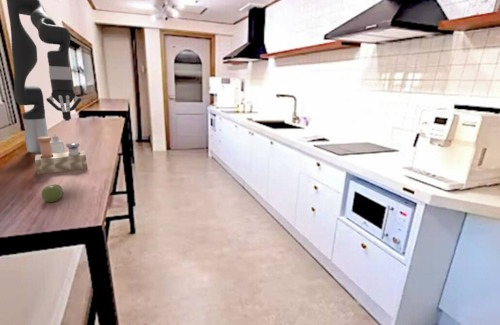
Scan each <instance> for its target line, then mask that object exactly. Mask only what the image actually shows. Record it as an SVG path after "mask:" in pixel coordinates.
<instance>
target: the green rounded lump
mask: <svg viewBox="0 0 500 325" xmlns="http://www.w3.org/2000/svg"><path fill="white" fill-rule="evenodd" d="M63 194H64V190H63V187H62V186H61V185H60V184H55V183H54V184H49V185H47V186H45V187H44V188H43V189H42V190H41V197H42V200H44V201H45V202H47V203H54V202H56V201H59V199H61V197H62V195H63Z"/></svg>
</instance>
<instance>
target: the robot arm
mask: <svg viewBox="0 0 500 325" xmlns="http://www.w3.org/2000/svg"><path fill="white" fill-rule="evenodd" d="M6 6H7V11H8V19H9V25H10V34H11V35H10V37H11V39H10V40H11V53H12V54H11V55H12V61H13V62H12V63H13V72H14V73H13V74H14V75H13V79H14V80H13V85H14V86H13V89H14V91H13V94H14V99H15V102H16V103H17V104H18V105H19V106H33V107H32V108H31V109H30V110H28V111H25V112H23V113H22V119H23V123H24V124H23V125H24V128H25V133H24V134H23V136H24V140H25V146H26V147H25V148H26V151H27V152H26V153H33V154H37V153H40V154H41V149H40V143H39V141H37V138H39V137H50V136H49V132H48V124H47V119H46V111H45V110H46V109H45V104H44V102H45V101H44V94H43V91H42V88H40V86H39V85H37V86H36V85H26V81H27V79H28V78H27V77H28V76H29V75H30V73H31V72H32V70H34V68H35V67H36V64H37V63H38V48H37V44H36V43H35V42H34V40H33V39H32V37H31V36H30V35H29V33H27V31H26V29H25V27H24V26H23V24H22V22H21V18H20V15H24V16H30V21H31V23H32V25H33V26H34V27H35V28H36V29H37V32H38V34H37V35H38V37H39V39H40V41H41V42H42V43H45V44H49V45H59V46H58V48H57V49H56V50H48V51H47V54H46V55H47V56H46V57H47V63H48V74H49V80H50V87H51V94H50V96H49V97H47V98H46V102H47V103H49V104H50V105H51V107H53V108H54V109H55V110H56V111H60V112H61V115H62V119H63V120H64V121H68V122H69V121H70V120H71V119H72V115H71V114H72V113H71V112H72V111H75V109H76V108H77V107H78V106H79V104H80V103H81V101H82V98H81V97H78V96H77V95H76V93H75V92H74V86H73V85H74V84H73V77H72V73H71V72H72V71H71V69H70V62H69V51H70V50H69V49H70V44H71V43H70V42H71V38H72V37H71V33H70V31H69V30H68V28H67V27H66V26H61V25H57V24H56V22H55V21H54V19H52V18H51V16H50V15H48V14H47V12H46V10H45V9H44V8H45V7H44V6H43V5H42V3H41V1H40V0H6ZM54 101H56V102H57V103H58V104H59V105H60V106H58V105H57V104H56V103H55V102H54ZM73 101H74V103H73ZM72 103H73V104H72ZM71 104H72V106H71Z"/></svg>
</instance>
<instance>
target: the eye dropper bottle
mask: <svg viewBox="0 0 500 325" xmlns="http://www.w3.org/2000/svg"><path fill="white" fill-rule="evenodd" d="M51 139H52V140H51V141H50V145H51V151H52V153H63V152H66V150H65V145H64V142H63V141H62V140H60V138H59V135H58V134H57V133H55V132H53V135H52V137H51Z"/></svg>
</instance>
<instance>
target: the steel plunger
mask: <svg viewBox="0 0 500 325" xmlns="http://www.w3.org/2000/svg"><path fill="white" fill-rule="evenodd" d="M65 146H66V148H68V152H69V154H70V155H78V154H79V151H80V150H79V147H80V143H79V142H70V143H66V144H65Z"/></svg>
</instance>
